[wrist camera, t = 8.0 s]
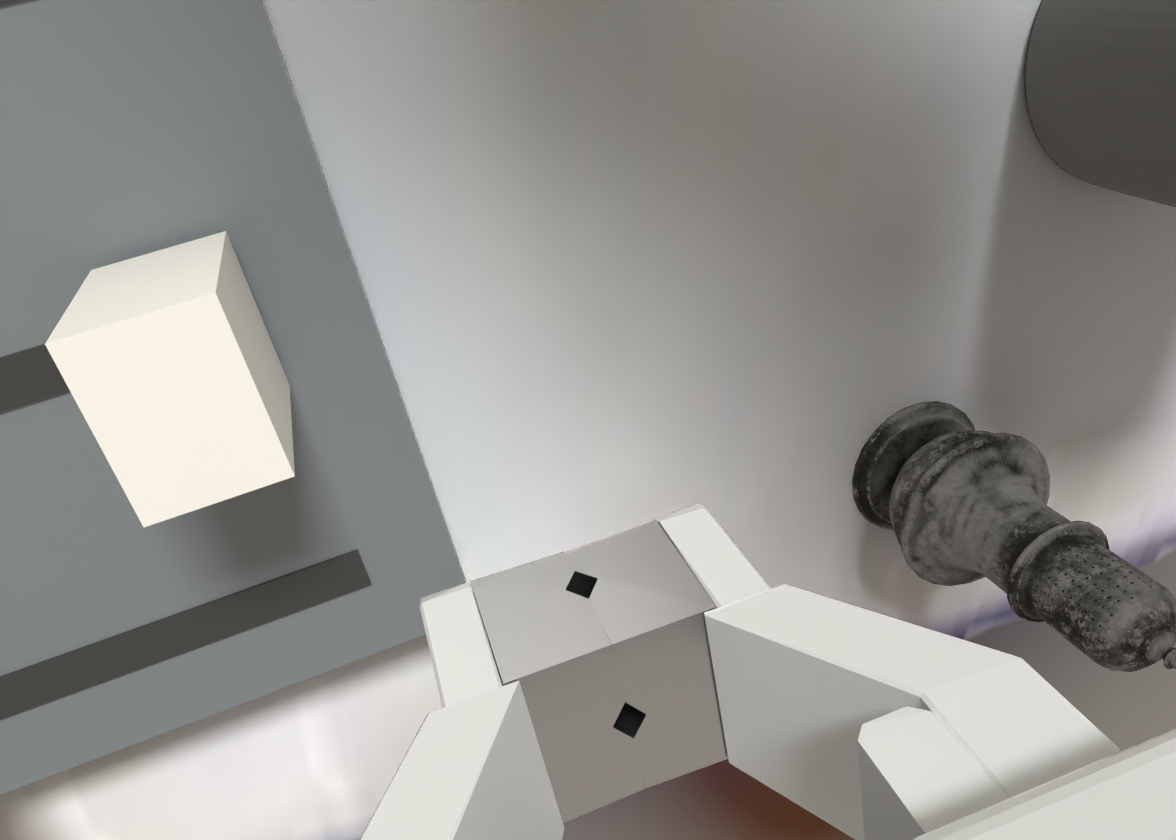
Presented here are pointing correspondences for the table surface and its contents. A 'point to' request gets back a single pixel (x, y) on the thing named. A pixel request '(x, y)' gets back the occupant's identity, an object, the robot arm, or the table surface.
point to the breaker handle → (177, 378)
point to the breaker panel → (303, 345)
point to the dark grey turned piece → (1008, 534)
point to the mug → (1107, 92)
